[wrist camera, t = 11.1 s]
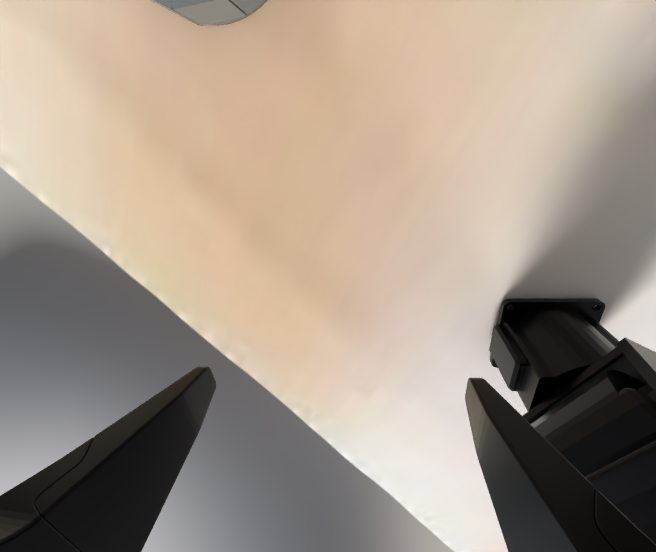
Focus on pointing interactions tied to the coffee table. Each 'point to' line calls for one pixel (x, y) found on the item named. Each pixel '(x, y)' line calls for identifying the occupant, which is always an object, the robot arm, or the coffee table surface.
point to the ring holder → (212, 10)
